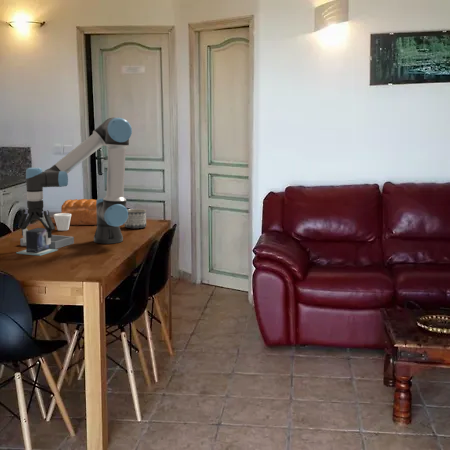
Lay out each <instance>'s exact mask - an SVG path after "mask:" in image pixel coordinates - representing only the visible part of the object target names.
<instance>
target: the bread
mask: <svg viewBox="0 0 450 450" xmlns="http://www.w3.org/2000/svg"><path fill="white" fill-rule="evenodd" d="M96 201H97V199H93V198H91V199H86V198H81V199H66V200H65V201H64V202H63V204H61V207H60V210H61V212H60V213H69V214H71V220H70V225H69V226H97V213H96Z"/></svg>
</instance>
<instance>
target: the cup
mask: <svg viewBox="0 0 450 450" xmlns="http://www.w3.org/2000/svg"><path fill="white" fill-rule="evenodd" d="M53 218H54V221H55V224H56V230H57V231H58V232H65V231H66V232H67V231H69V228H70V226H71V225H70V220H71V214H69V213H61V212H60V213H59V212H58V213H55V214H53Z"/></svg>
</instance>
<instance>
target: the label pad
mask: <svg viewBox="0 0 450 450" xmlns="http://www.w3.org/2000/svg"><path fill="white" fill-rule="evenodd" d="M57 251H59V248H57V249H51V248H49V249H47V250H44V251H41V252H38V253H32V252H26V249H24V250H20V251H18V252H17V251H16V254H19V255H27V256H28V255H30V256H38V257H39V256H40V257H41V256H43V255H47V254H48V255H49V254H51V253H53V252H57Z"/></svg>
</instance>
